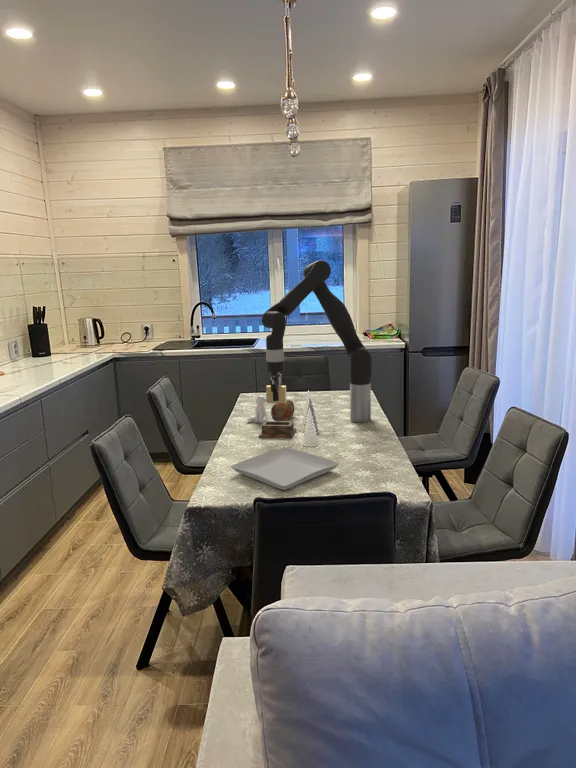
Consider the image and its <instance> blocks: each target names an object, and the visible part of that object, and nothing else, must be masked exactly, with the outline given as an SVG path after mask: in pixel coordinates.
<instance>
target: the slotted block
mask: <svg viewBox="0 0 576 768" xmlns="http://www.w3.org/2000/svg"><path fill="white" fill-rule="evenodd" d="M296 432H297V427H295V426H294V421H293V420H292V421H290V420H288V421H287V420H283V421H275V420H267V421H265V422H264V423H261V432H259V435H258V438H260V439H261V438H263V439H269V438H270V439H277V438H278V439H293V437H294V435H295V434H296Z"/></svg>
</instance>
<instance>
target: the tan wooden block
mask: <svg viewBox="0 0 576 768" xmlns="http://www.w3.org/2000/svg"><path fill="white" fill-rule="evenodd" d="M274 389H276V388H274ZM278 391H279V392H278V401H273V392H271V386H270V385H268V384H267V385H266V387H265V392H266V393H265V399H267V401H266V404H276V403H286V402H287V385H282V384H281V385H280V386H279V387H278Z"/></svg>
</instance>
